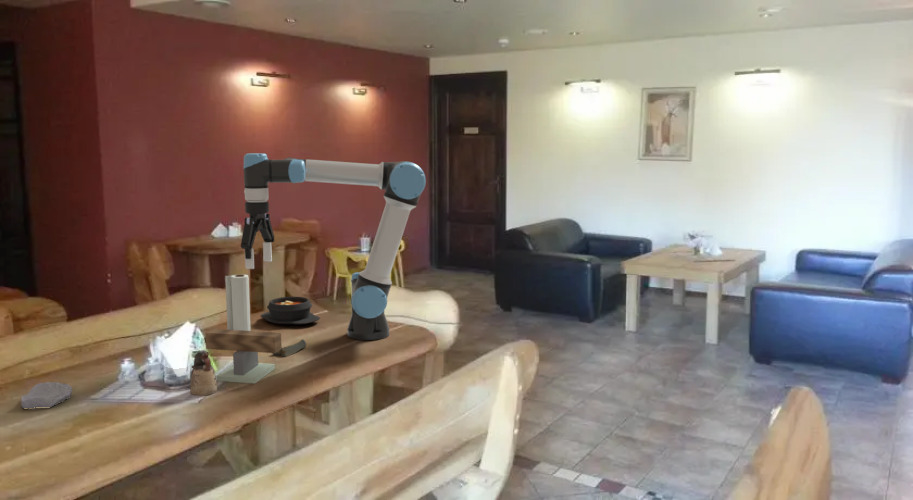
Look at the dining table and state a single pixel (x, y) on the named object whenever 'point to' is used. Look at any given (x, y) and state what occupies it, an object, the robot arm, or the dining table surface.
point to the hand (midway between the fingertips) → (259, 265)
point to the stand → (245, 368)
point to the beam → (243, 340)
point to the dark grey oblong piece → (291, 349)
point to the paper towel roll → (238, 302)
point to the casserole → (290, 311)
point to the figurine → (203, 375)
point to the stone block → (46, 395)
